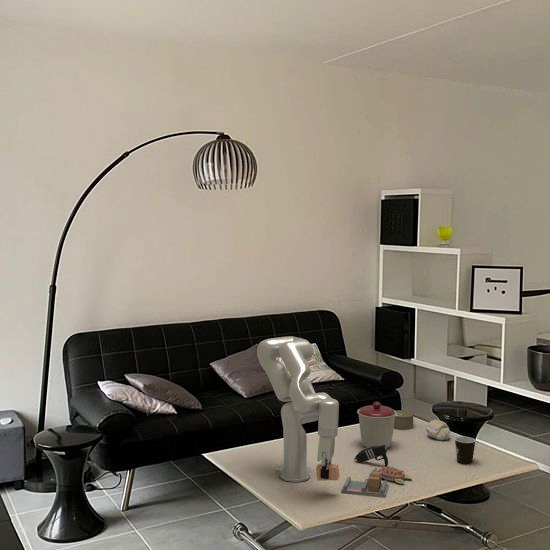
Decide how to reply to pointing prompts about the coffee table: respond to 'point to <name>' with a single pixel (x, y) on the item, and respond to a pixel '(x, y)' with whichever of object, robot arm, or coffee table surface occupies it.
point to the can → (403, 420)
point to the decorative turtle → (392, 474)
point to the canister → (376, 425)
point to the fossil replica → (438, 430)
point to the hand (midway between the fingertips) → (325, 475)
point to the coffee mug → (464, 450)
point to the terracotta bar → (332, 472)
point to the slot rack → (363, 488)
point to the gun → (372, 454)
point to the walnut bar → (374, 481)
